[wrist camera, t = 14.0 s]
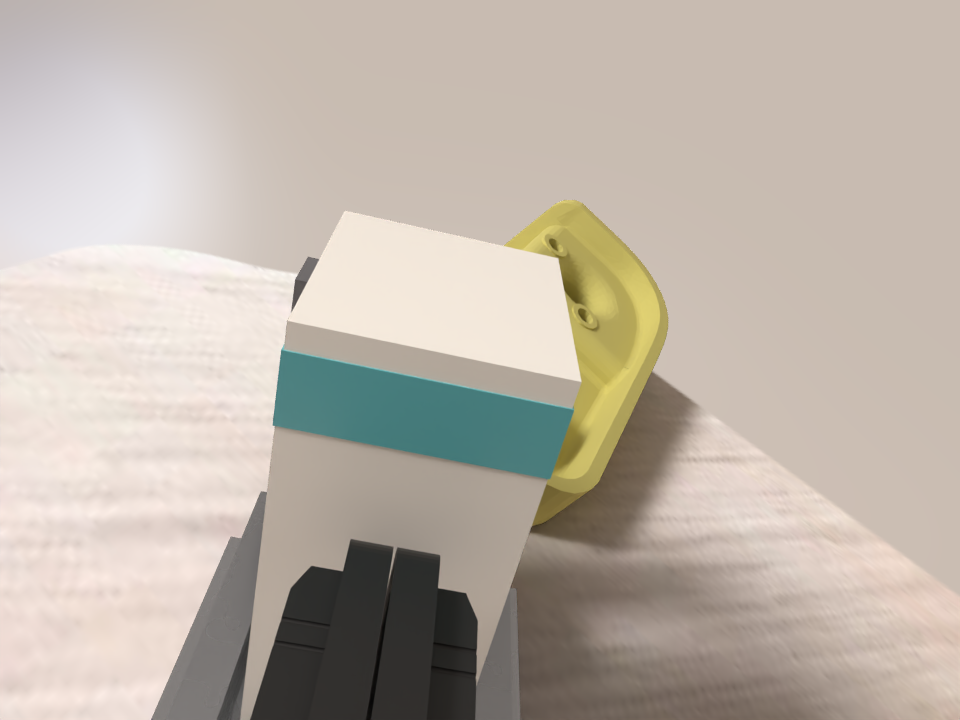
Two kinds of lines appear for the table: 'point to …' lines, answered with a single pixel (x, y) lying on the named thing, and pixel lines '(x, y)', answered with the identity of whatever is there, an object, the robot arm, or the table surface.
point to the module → (414, 415)
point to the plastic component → (597, 340)
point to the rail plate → (226, 633)
